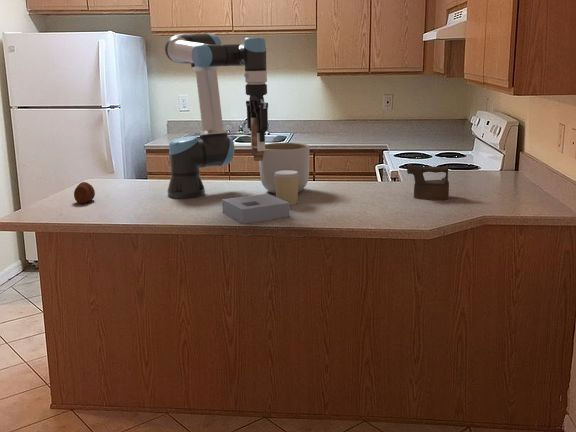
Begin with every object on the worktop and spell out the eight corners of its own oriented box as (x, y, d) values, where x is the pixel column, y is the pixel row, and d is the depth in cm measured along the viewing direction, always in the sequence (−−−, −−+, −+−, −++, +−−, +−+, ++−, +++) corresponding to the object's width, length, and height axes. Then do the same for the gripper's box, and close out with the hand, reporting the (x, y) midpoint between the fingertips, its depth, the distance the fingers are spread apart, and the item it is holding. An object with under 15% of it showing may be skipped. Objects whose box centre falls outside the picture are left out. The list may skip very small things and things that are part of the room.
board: (222, 212, 231) (222, 199, 230) (267, 206, 239) (266, 193, 238) (242, 223, 216) (242, 209, 215) (289, 216, 224) (289, 202, 223)
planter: (282, 199, 250) (281, 151, 246) (249, 191, 266) (248, 146, 261) (320, 191, 264) (319, 145, 259) (287, 184, 279) (286, 141, 274)
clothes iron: (405, 195, 252) (406, 162, 249) (446, 195, 251) (447, 161, 248) (407, 200, 245) (408, 165, 241) (449, 199, 244) (451, 165, 240)
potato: (70, 205, 248) (68, 185, 246) (79, 198, 259) (77, 179, 257) (90, 205, 248) (87, 185, 246) (98, 198, 259) (96, 179, 257)
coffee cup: (298, 199, 249) (298, 169, 246) (299, 205, 240) (299, 174, 237) (274, 200, 249) (273, 170, 246) (275, 206, 240) (274, 174, 237)
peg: (250, 159, 230) (248, 117, 226) (261, 158, 232) (260, 117, 228) (255, 161, 226) (254, 119, 222) (267, 160, 228) (265, 118, 224)
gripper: (236, 83, 228) (238, 147, 234) (257, 84, 213) (259, 154, 218) (255, 82, 231) (257, 146, 237) (277, 83, 216) (278, 152, 222)
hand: (258, 149), depth 228 cm, fingers closed on peg, 4 cm apart
